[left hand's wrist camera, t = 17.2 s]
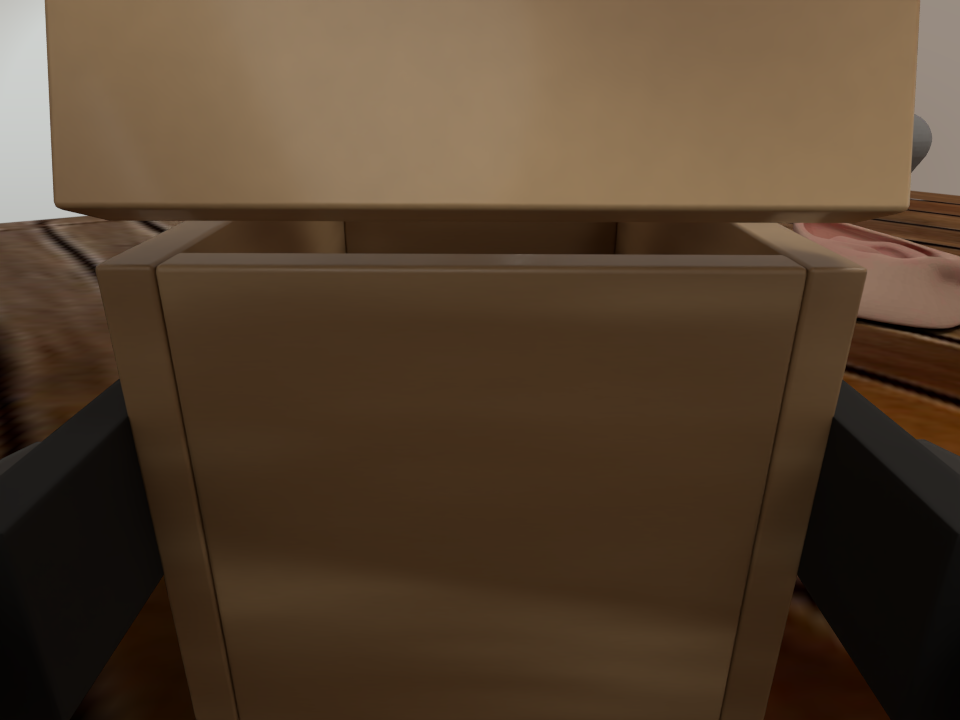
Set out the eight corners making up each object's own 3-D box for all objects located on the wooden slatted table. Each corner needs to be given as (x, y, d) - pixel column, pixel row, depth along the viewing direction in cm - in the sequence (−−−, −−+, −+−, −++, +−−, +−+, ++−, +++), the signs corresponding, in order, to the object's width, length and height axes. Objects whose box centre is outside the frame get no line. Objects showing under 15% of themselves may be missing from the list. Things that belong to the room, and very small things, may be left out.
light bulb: (863, 215, 71) (885, 113, 67) (842, 205, 76) (861, 111, 73) (925, 216, 70) (950, 113, 66) (899, 206, 76) (921, 111, 72)
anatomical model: (1023, 265, 35) (781, 245, 39) (1000, 338, 36) (769, 311, 41) (967, 221, 46) (784, 209, 50) (952, 278, 48) (775, 262, 52)
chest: (344, 461, 24) (318, 153, 20) (614, 462, 24) (643, 154, 20) (216, 826, 13) (90, 265, 8) (740, 827, 13) (872, 268, 8)
